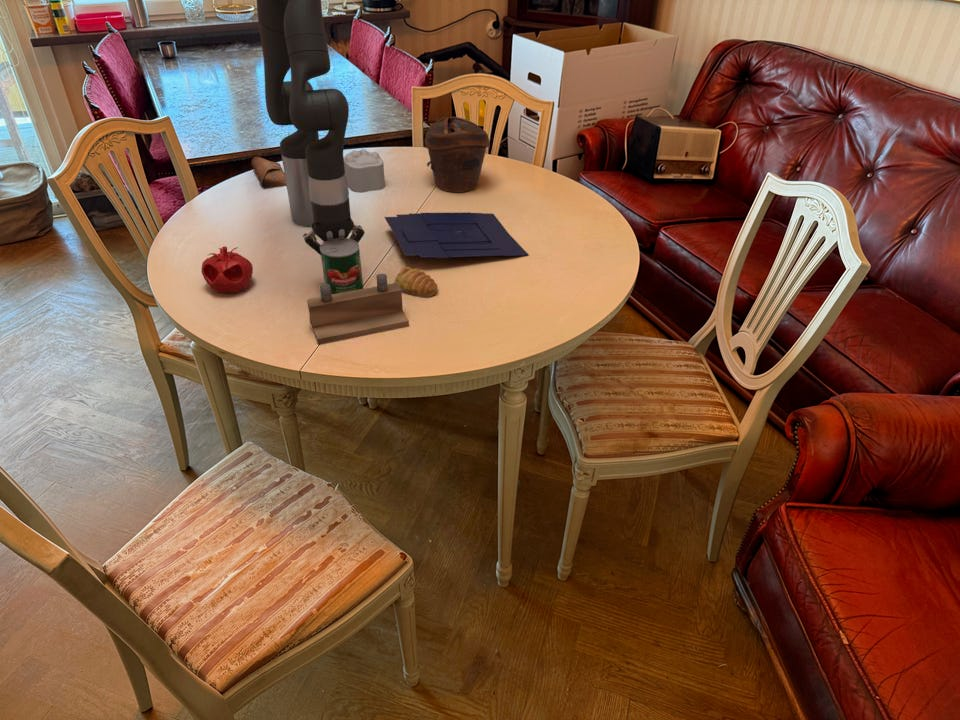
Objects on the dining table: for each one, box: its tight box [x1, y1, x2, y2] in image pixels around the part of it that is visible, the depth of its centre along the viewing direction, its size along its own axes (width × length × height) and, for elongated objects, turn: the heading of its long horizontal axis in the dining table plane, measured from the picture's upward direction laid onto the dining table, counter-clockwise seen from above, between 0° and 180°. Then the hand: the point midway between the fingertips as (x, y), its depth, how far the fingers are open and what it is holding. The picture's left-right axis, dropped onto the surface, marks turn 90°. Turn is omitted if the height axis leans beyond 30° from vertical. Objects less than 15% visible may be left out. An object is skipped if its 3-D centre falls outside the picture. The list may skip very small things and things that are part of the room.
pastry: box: [394, 266, 438, 298], centre depth 134 cm, size 9×7×4 cm
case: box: [424, 116, 491, 193], centre depth 176 cm, size 18×20×18 cm
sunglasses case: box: [250, 156, 287, 190], centre depth 180 cm, size 18×7×7 cm
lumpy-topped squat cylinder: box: [343, 148, 386, 193], centre depth 177 cm, size 10×13×9 cm
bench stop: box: [306, 273, 410, 345], centre depth 121 cm, size 8×18×9 cm, turn 113°
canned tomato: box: [320, 237, 364, 295], centre depth 129 cm, size 8×8×11 cm
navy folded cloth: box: [384, 211, 529, 259], centre depth 152 cm, size 24×30×4 cm
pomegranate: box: [200, 246, 254, 294], centre depth 130 cm, size 10×10×9 cm
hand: (338, 271), depth 134 cm, fingers closed
